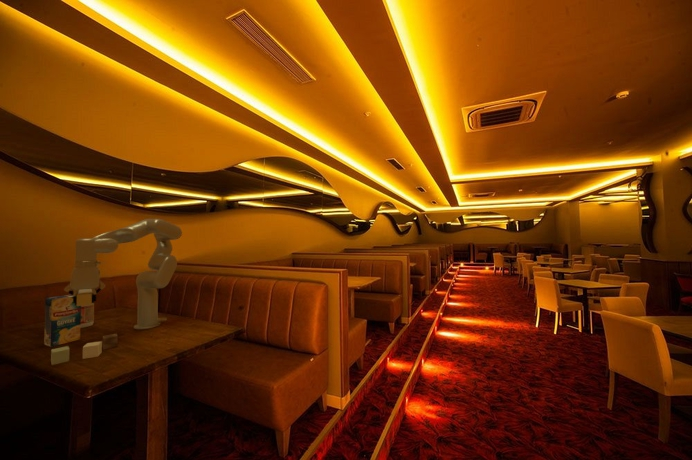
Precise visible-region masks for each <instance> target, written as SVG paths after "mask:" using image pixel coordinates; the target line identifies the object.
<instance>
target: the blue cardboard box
mask: <svg viewBox="0 0 692 460" xmlns="http://www.w3.org/2000/svg"><path fill="white" fill-rule="evenodd" d="M44 299H45V300H44V301H45V305H44V333H43V336H44V337H43V341H44V342H43V345H45V346H47V347H50V348H51V347H55V346H60V345H62V344H63V345H64V344H67V343H71V342H74V341H75V342H76V341H78V340H81V328H80V327H81V306H77V305H75V303H74V296H73V295H71V294H67V295H66V294H65V295H58V296H52V297H46V298H44Z"/></svg>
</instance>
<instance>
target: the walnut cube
mask: <svg viewBox="0 0 692 460" xmlns="http://www.w3.org/2000/svg"><path fill="white" fill-rule="evenodd" d="M118 343H119V342H118V334H117V332H116V333H113V334H112V333H111V334H106V335H103V336H102V350H107V349H113V348H116V347H118Z"/></svg>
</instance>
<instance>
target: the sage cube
mask: <svg viewBox="0 0 692 460" xmlns="http://www.w3.org/2000/svg"><path fill="white" fill-rule="evenodd" d="M70 351H71V350H70V347H69V345H66V346H62V347H58V348H52V349H51V350H50V363H51V366H54V365H57V364H58V365H59V364H62V363H66V362H70Z"/></svg>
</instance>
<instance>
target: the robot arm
mask: <svg viewBox="0 0 692 460" xmlns="http://www.w3.org/2000/svg"><path fill="white" fill-rule="evenodd" d="M150 234H151V235H152V234H153V236H154V239H155V241H156V247H155V249H154V251H153V253H152V255H151V256H150V258H149V260H148V263H147V266H148V269H150V270H147V271H142V272H140V273H138V275H137V276H136V278H135V283H136V288H137V319H136V320H137V322H136V323H137V324H135V325H133V329H135V330H149V329H153V328H157V327H159V326H161V322H167V319H168V318H167V317H159V315H158V313H159V311H158V310H159V308H158V307H159V293H158V289H164V288H165V287H166V286H168V285H169V283H170V281H171V279H172V277H173V275H174V273H175V271H176V269H177V267H178V260H177V257H175V255H172V251H173V245H172V241H176V240H179V239H180V238H181V237H182V235H183V231H182V229H181V227H180V226H178V225H176V224H174V223H172V222H170V221H166V220H164V219H161V218H146V219H143V220H140V221H137V222H135V223H133V224H130V225H128V226H125V227H122V228H118V229H115V230H111V231H107V232H104V233H102V234H98V235H95V236H94V237H92V238H91V237H90V238H77V239H76V240H75V246H74V249H75V251H74V267H73V268H72V270H71V274H70V282H69V283H68V285H66V286H65V287H64V288H63V291H64V292H66V293H67V294H69V295H73V296H74V303H75V305H77V295H78V292H79V290H81V289H92V292H93V294H92V303H94V304H95V303H96V302H97V294H99V292H100V291H102V290H104V289H105V288H106V284H105V283H104V282H102V280H101V272H100V267H99V265H101V261H98V260H97V258H98V257H97V256H98V255H97V254H111V253H113V252H115V251H117V250H118V247H119V244H127V243H132V242H135V241H138V240H139V239H140V240H141V238H142V239H143V238H144V237H146V236H148V235H150ZM97 288H98V289H97Z"/></svg>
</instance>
